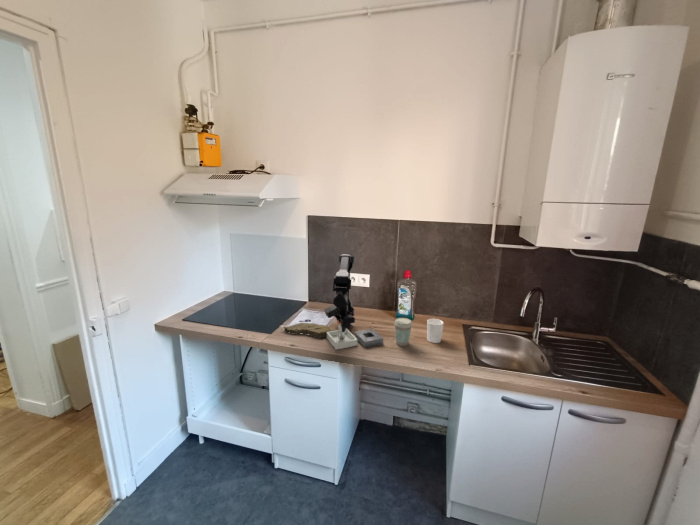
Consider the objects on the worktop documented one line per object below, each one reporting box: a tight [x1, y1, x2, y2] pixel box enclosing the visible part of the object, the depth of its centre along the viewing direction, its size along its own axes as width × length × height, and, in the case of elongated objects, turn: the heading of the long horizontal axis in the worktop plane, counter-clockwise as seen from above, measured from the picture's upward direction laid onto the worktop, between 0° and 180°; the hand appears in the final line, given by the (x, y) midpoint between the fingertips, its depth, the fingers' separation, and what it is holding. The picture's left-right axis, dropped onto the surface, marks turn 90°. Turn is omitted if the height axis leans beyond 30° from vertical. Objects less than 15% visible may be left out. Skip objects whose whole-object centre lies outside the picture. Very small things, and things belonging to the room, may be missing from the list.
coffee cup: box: [393, 317, 413, 347], centre depth 150 cm, size 8×9×12 cm
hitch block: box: [354, 328, 384, 348], centre depth 154 cm, size 12×10×3 cm
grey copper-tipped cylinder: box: [336, 319, 345, 340], centre depth 151 cm, size 4×4×9 cm
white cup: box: [426, 318, 444, 344], centre depth 154 cm, size 8×8×10 cm
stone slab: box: [282, 322, 332, 339], centre depth 162 cm, size 27×12×5 cm, turn 78°
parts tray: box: [326, 328, 358, 350], centre depth 152 cm, size 13×11×3 cm
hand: (341, 330), depth 151 cm, fingers closed on grey copper-tipped cylinder, 3 cm apart
